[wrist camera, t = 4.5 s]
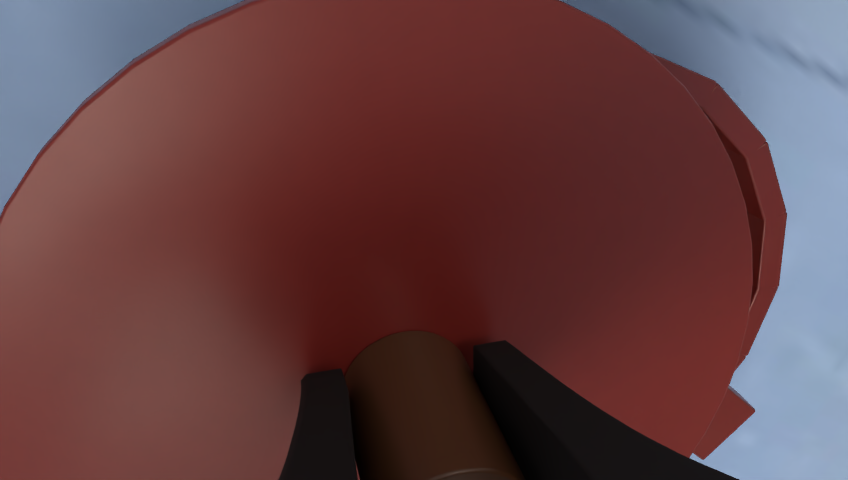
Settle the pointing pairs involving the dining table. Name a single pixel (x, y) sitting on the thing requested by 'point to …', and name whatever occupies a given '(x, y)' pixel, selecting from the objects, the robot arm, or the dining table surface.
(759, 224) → the pot
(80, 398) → the pot lid
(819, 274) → the dining table surface
